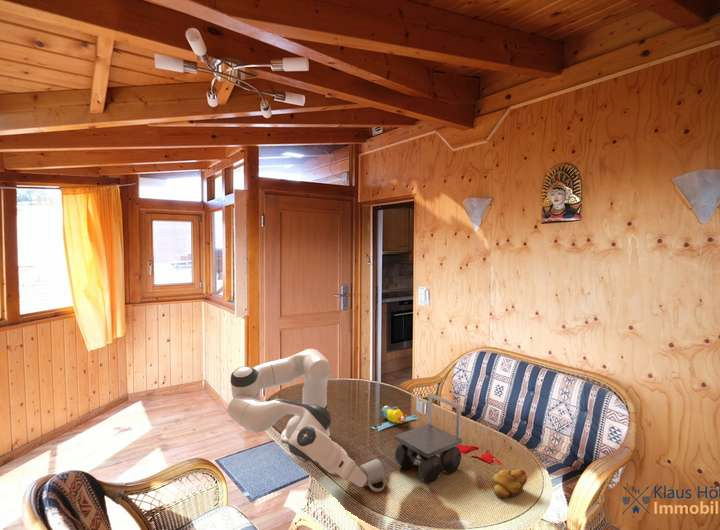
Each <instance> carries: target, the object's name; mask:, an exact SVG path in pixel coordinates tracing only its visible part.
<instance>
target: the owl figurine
mask: <svg viewBox="0 0 720 530" xmlns="http://www.w3.org/2000/svg"><path fill="white" fill-rule="evenodd" d="M379 415H380V416H382V415H383V416H384V417H385V418H386V419H387V421H385V422H383V423H381V424H382V425H381V426H378V425H377V426H378V427H377V428H378V432H381V431H383V430H385V429H388V428H390V427H391V428H392V427H394V426H396V425H399V424H401V425H402V424H403V423H407V422H410V421H414V420H420V418H421V417H418V416H417V415H416V414H415V415H414V414H411V415H409V414H407V413H405V414H404V412H403V411H402V410H401V408H399V407H398V406H395V405H384V406H383V407H382V408H381V409H380V410H379ZM371 428H372V430H373V429H376V428H375V426H371ZM371 428H370V429H371Z"/></svg>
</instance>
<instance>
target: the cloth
mask: <svg viewBox="0 0 720 530" xmlns="http://www.w3.org/2000/svg"><path fill="white" fill-rule="evenodd" d="M455 447H457V448H459V450H460V452H461V453H463V454H467V453H469V452H471V451H474V450H478V449H479V446H476V445H468V444H467V445H466V444H465V445H464V444H460V445H458V446H455ZM490 453H491V452H490ZM490 453H489V451H488V452H486V453H485V454H484V455H482V457H477V456H476V455H475V456H473V457H472V458H477V459H480V460H482V461H484V462H486V463H487V464H490V465H492V464H491V463H494V460H493V458H497V457H496V456H495V455H493V454H492V455H493V456H492V455H491V454H490ZM463 454H462V455H463ZM494 456H495V457H494ZM495 461H497V462H498V463H500V464H499V465H501V464H502V465H501V466H503V463H502V462H501V460H499V459H498V460H495ZM498 463H497V464H498ZM494 464H495V463H494Z"/></svg>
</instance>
